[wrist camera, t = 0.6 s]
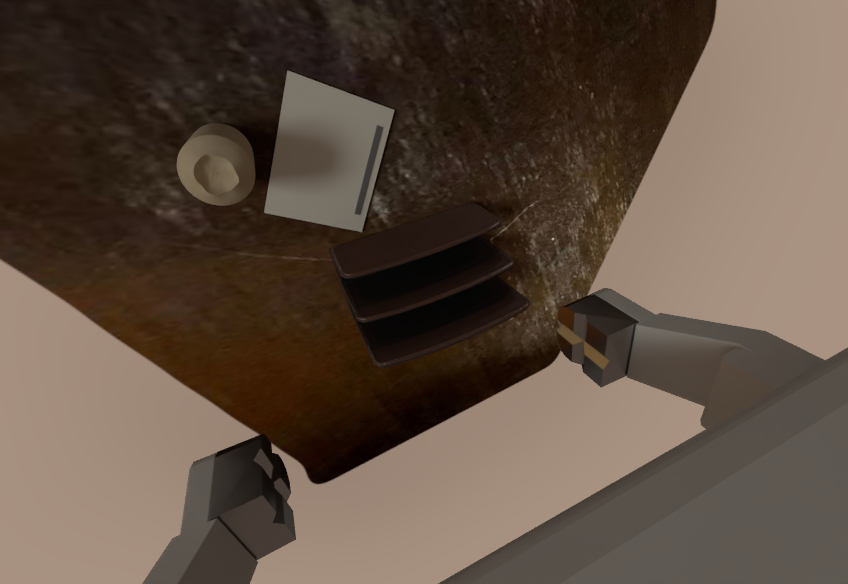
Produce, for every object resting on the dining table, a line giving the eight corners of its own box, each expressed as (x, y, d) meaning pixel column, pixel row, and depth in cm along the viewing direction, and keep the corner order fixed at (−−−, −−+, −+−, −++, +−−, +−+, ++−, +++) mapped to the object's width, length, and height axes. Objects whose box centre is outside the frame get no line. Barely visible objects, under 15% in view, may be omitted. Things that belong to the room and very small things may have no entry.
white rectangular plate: (287, 70, 36) (288, 70, 36) (393, 109, 41) (394, 110, 41) (264, 211, 41) (264, 213, 41) (361, 231, 46) (362, 232, 46)
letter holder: (479, 264, 56) (538, 313, 45) (350, 312, 51) (379, 380, 40) (473, 200, 50) (538, 237, 39) (327, 247, 46) (354, 305, 35)
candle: (260, 138, 38) (265, 156, 30) (244, 190, 39) (244, 220, 31) (198, 111, 35) (184, 123, 27) (183, 168, 37) (165, 195, 29)
